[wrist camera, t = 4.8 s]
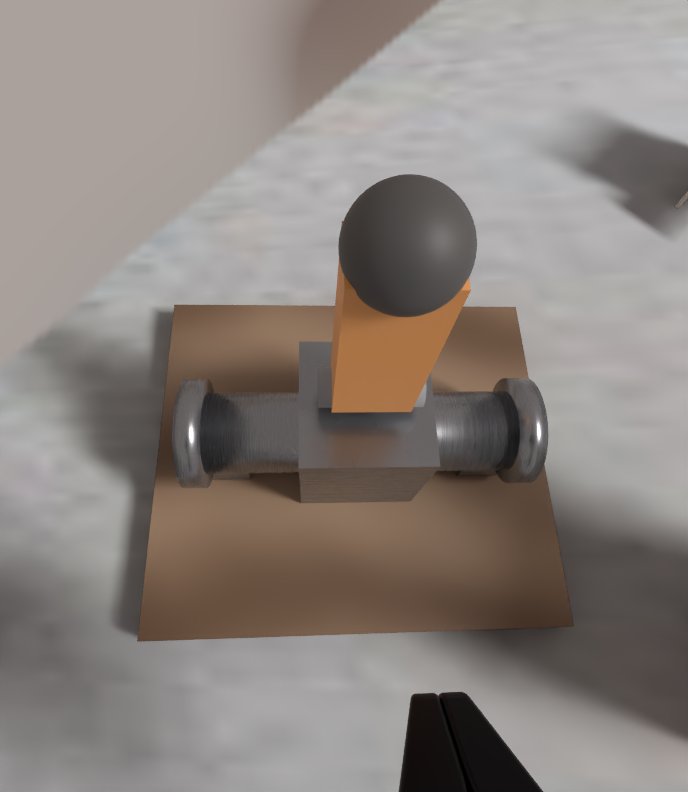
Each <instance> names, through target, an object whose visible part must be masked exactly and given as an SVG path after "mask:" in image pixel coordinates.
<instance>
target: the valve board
mask: <svg viewBox="0 0 688 792" xmlns="http://www.w3.org/2000/svg"><path fill="white" fill-rule="evenodd" d="M334 316H335V306H275V305H174V314H173V323H172V332H171V341H170V351H169V360H168V369H167V378H166V387H165V396H164V405H163V414H162V423H161V432H160V441H159V450H158V459H157V468H156V477H155V486H154V495H153V504H152V513H151V523H150V532H149V541H148V550H147V559H146V568H145V577H144V586H143V595H142V604H141V613H140V622H139V631H138V640H137V641H164V640H193V639H222V638H252V637H281V636H310V635H339V634H368V633H397V632H427V631H456V630H485V629H514V628H543V627H572V626H573V620H572V615H571V609H570V604H569V598H568V593H567V587H566V582H565V576H564V571H563V565H562V560H561V554H560V549H559V543H558V538H557V532H556V527H555V521H554V516H553V510H552V505H551V499H550V494H549V488H548V483H547V477H546V472H545V466H543V469H542V471H541V473H540V475H539V476H538V477H537V479H536V480H534V481H533V482H531V483H505V482H503V481H502V480H501V479H500V478H499V477H498V476H497V474H496V475H495V476H457V475H456V471H436V472H435V474H434V475H433V476H432V477H431V478H430V479H429V481H428V482H427V483H426V484H425V485H424V486H423V488H422V489H421V490H420V491H419V492H418V493H417V495H416V496H415V497H414V498H413V499H412V501H410V502H354V503H301V494H300V481H299V473H252V479H251V480H212V482H211V484H210V486H209V487H208V488H182V487H181V486H180V484H179V482H178V480H177V477H176V473H175V468H174V461H173V449H172V423H173V411H174V404H175V399H176V394H177V391H178V388H179V385H180V383H181V382H182V380H184V379H209V380H210V381H211V383H212V386H213V389H214V392H299V342H332V341H333V328H334ZM503 378H527V379H529V378H528V372H527V367H526V361H525V356H524V350H523V345H522V339H521V334H520V328H519V323H518V317H517V312H516V307H462V309H461V311H460V313H459V315H458V317H457V319H456V322H455V324H454V326H453V328H452V330H451V332H450V334H449V336H448V338H447V340H446V342H445V344H444V346H443V348H442V350H441V352H440V354H439V356H438V358H437V360H436V362H435V365H434V367H433V369H432V371H431V380H432V389H433V392H446V391H493V389H494V387H495V385H496V384H497V382H498V381H499V380H501V379H503Z"/></svg>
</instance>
